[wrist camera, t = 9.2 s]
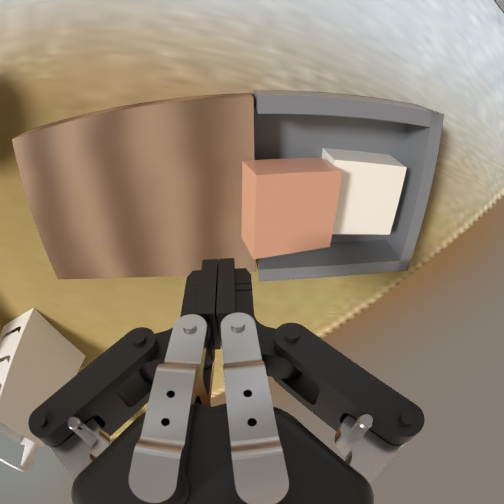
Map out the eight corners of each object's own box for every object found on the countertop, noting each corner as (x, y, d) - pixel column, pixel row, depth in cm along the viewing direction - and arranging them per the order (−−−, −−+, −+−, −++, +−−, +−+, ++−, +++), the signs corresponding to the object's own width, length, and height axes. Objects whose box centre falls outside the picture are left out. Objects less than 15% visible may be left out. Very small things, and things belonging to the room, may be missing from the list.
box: (416, 104, 20) (443, 114, 17) (390, 246, 29) (407, 270, 25) (253, 90, 20) (257, 95, 16) (255, 253, 28) (259, 281, 25)
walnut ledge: (250, 93, 20) (253, 96, 17) (253, 251, 28) (255, 271, 25) (31, 129, 19) (11, 139, 17) (69, 260, 27) (57, 279, 25)
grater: (49, 366, 38) (19, 472, 22) (4, 325, 33) (-42, 434, 16) (85, 355, 36) (54, 483, 20) (33, 307, 31) (-22, 442, 14)
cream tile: (389, 154, 22) (406, 167, 20) (376, 217, 26) (389, 234, 23) (322, 148, 22) (334, 159, 20) (314, 215, 25) (323, 234, 23)
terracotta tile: (320, 157, 21) (342, 170, 19) (311, 227, 25) (329, 246, 22) (242, 160, 20) (256, 175, 17) (241, 237, 23) (253, 259, 21)
